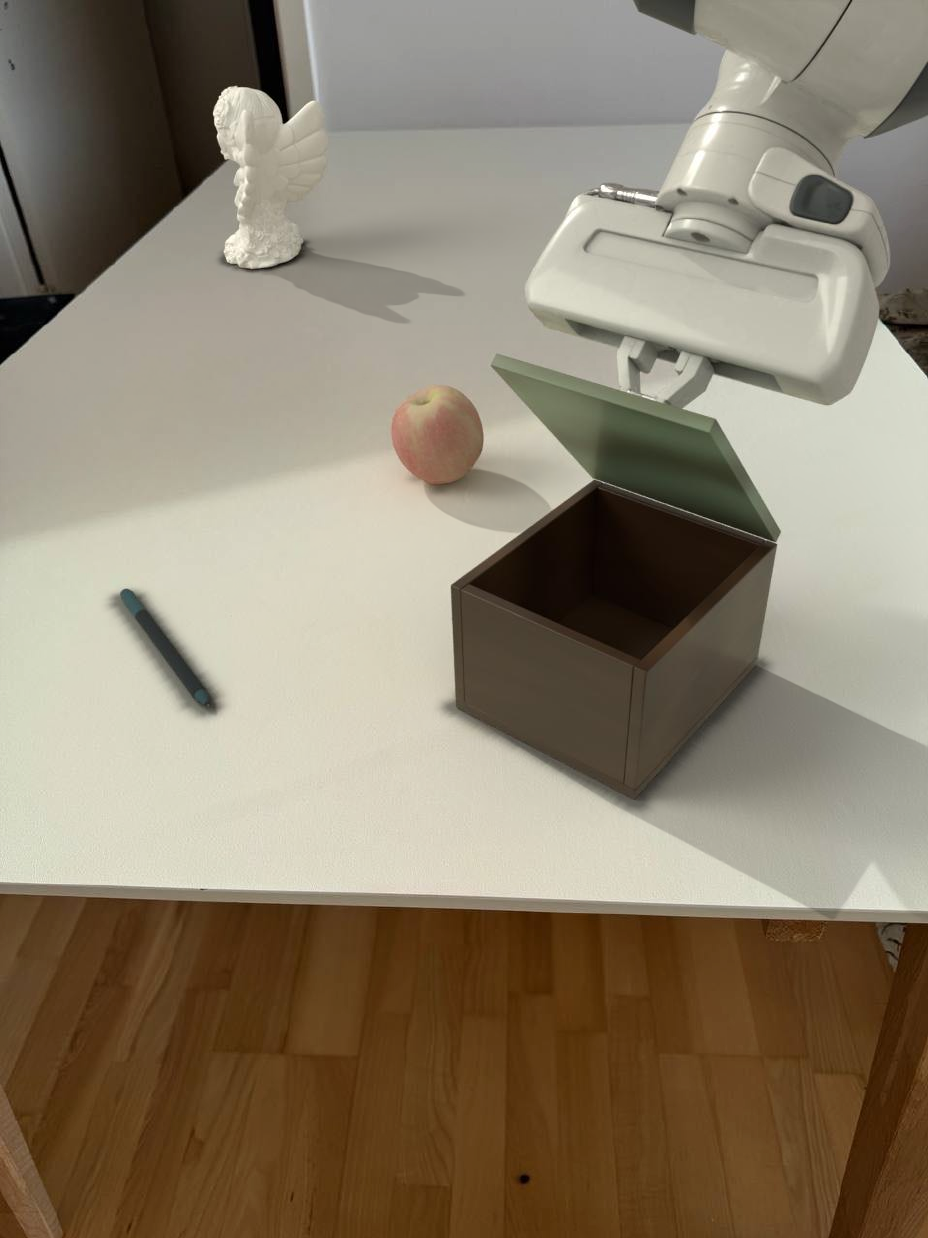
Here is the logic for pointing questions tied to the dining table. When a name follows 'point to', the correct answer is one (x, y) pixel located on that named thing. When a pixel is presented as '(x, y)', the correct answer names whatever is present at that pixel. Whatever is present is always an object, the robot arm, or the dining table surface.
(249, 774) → the dining table surface
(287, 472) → the dining table surface
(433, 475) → the apple
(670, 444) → the lid
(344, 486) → the dining table surface
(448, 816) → the dining table surface
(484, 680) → the coldframe
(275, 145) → the cherub figurine
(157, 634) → the pen
